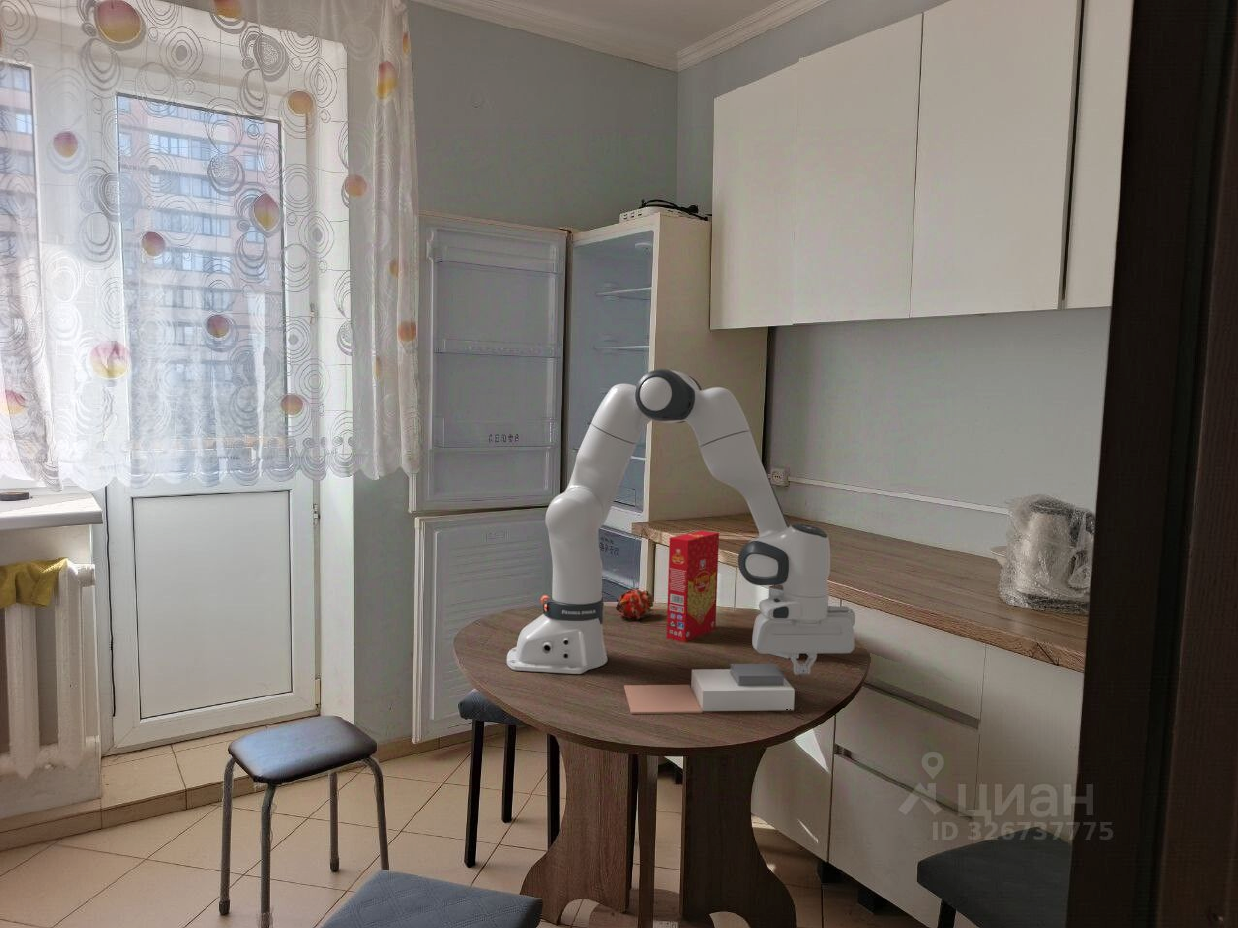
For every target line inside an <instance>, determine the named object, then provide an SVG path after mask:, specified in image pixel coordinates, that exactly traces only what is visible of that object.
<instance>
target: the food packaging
mask: <svg viewBox="0 0 1238 928" xmlns="http://www.w3.org/2000/svg"><path fill="white" fill-rule="evenodd" d="M719 543H720V533H719V532H715V531H714V532H713V531H708V530H697V531H693V532H689V533H685V534H681V535H676V536H672V537H669V546H668V547H669V550H668V551H669V553H668V577H667V579H668V582H667V584H668V585H667V611H666V612H667V613H666V614H667V618H666V639H670V640H674V641H678V642H681V643H686V642H688V641H692V640H694V639H695V638H699V637H700V636H703V635H705V634H707V633H709V632H712V631H715V630H716V628H717V627H716V625H717V599H718V595H717V594H718V573H719V571H718V569H719V546H720V545H719Z"/></svg>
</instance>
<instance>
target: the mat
mask: <svg viewBox="0 0 1238 928" xmlns="http://www.w3.org/2000/svg"><path fill="white" fill-rule="evenodd" d="M623 688H624V689H623V690H624V691H625V692H624V693H625V696H626V699H627V705H628V706H629V710H630V714H631V715H658V714H659V715H662V714H663V715H669V714H672V715H673V714H674V715H675V714H678V715H679V714H680V715H681V714H703V711H702V709H701V707H700V705H699V703H698V701H697V699H696V697H695V695H694V693H693V691H692V689H691V684H645V685H643V684H638V685H637V684H635V685H633V684H629V685H628V684H625V685H623Z"/></svg>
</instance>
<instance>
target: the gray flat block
mask: <svg viewBox="0 0 1238 928" xmlns="http://www.w3.org/2000/svg"><path fill="white" fill-rule="evenodd" d="M776 665H777V664H776V663H730V669H731V670H730V674H731V675H732V677H733V678H734V680H735V681H736V683H737V684H738V686H782V685H784V678H785V675H784V674H783V673H782V671H781V670H780V669H779V668H778V666H776Z"/></svg>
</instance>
